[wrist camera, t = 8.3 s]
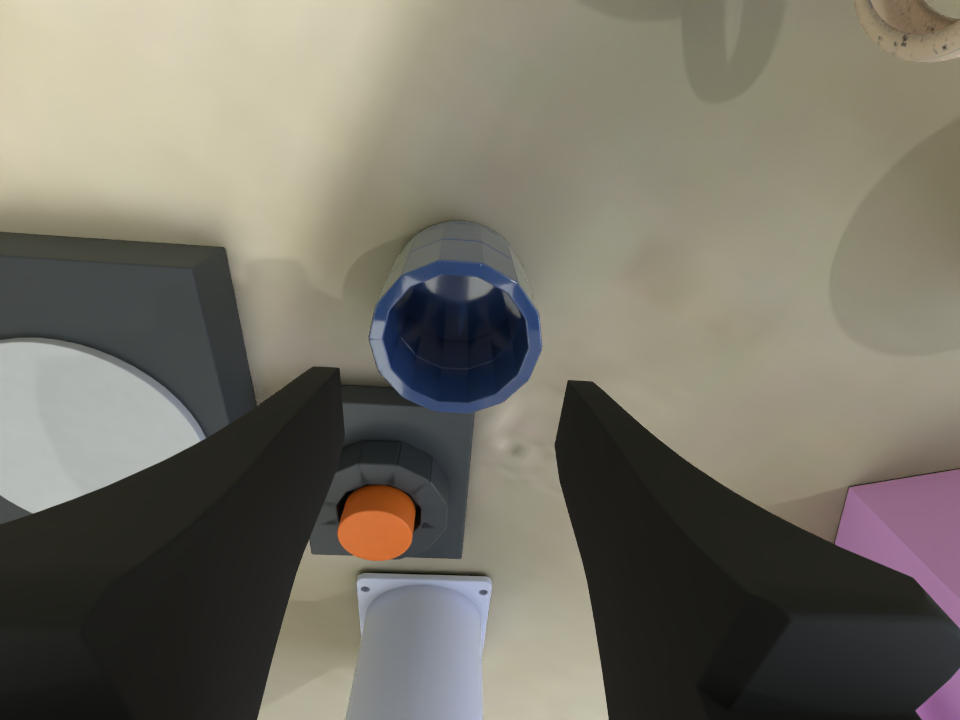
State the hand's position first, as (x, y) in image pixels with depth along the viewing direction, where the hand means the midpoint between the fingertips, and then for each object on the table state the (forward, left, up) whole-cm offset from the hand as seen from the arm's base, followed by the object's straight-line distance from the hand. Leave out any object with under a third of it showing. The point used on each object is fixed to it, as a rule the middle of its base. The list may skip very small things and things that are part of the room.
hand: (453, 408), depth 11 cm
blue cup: (0, 0, -8) cm, 8 cm away
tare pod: (-10, +3, -8) cm, 13 cm away
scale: (-7, +15, -8) cm, 19 cm away
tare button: (-10, +3, -6) cm, 12 cm away
